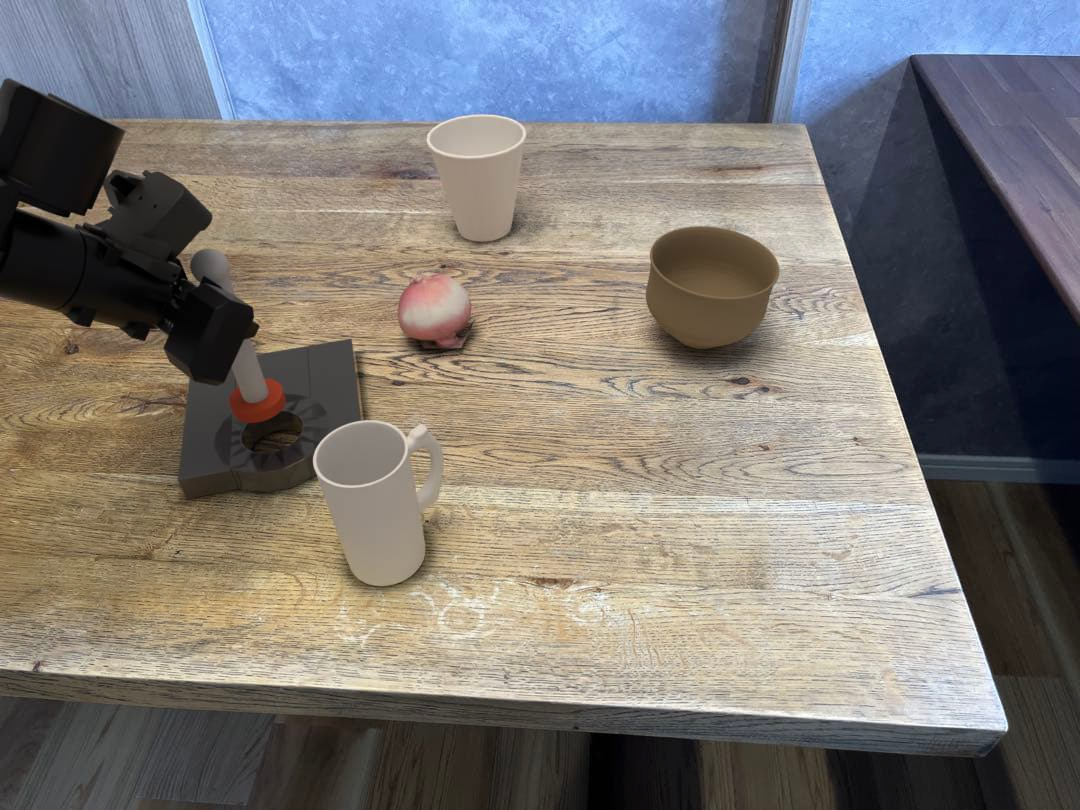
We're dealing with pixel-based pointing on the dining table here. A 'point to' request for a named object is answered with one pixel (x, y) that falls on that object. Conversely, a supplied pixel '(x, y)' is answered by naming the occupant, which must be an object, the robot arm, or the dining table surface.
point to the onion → (435, 311)
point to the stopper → (241, 353)
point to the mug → (378, 496)
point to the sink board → (269, 422)
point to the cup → (479, 171)
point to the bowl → (709, 285)
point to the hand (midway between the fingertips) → (247, 324)
